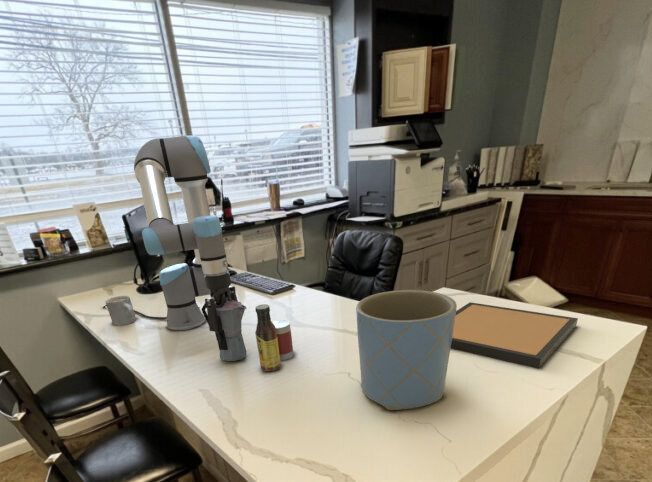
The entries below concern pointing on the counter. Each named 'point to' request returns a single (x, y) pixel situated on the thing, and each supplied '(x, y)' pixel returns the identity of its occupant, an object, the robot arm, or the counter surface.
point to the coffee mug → (121, 310)
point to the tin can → (284, 339)
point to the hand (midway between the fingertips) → (230, 344)
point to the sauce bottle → (267, 339)
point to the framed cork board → (509, 333)
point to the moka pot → (231, 329)
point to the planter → (405, 346)
